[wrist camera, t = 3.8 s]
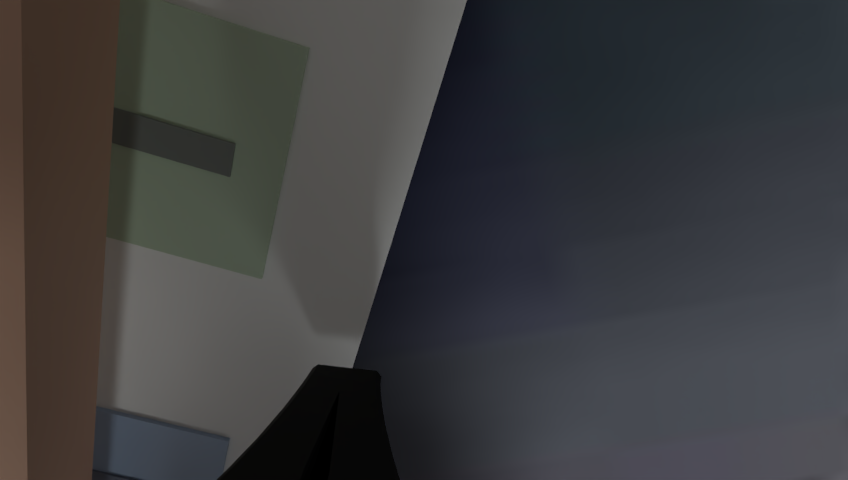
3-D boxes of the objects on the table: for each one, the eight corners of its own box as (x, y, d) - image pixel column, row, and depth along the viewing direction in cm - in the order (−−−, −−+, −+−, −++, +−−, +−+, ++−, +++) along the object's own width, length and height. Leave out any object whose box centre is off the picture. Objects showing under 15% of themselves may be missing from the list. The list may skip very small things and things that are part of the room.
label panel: (480, -50, 9) (485, -58, 9) (262, 654, 19) (253, 686, 18) (-228, -302, 8) (-309, -341, 7) (-87, 586, 17) (-115, 617, 17)
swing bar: (131, 629, 17) (48, 798, 14) (39, 611, 17) (-71, 779, 13) (223, -111, 9) (62, -203, 5) (40, -174, 8) (-276, -323, 5)
